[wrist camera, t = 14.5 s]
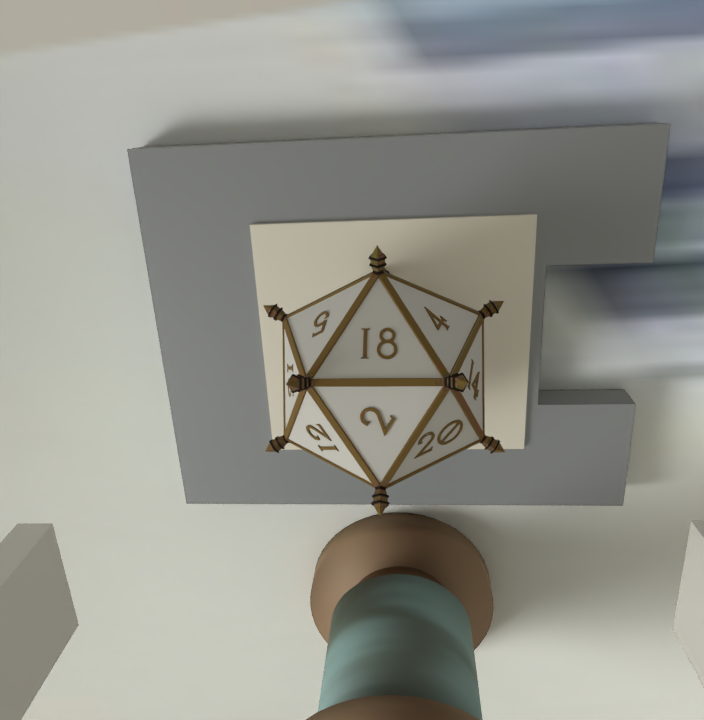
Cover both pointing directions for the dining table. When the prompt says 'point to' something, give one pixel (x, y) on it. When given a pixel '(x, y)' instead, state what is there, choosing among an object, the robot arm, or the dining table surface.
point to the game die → (383, 378)
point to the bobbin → (400, 620)
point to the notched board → (407, 261)
